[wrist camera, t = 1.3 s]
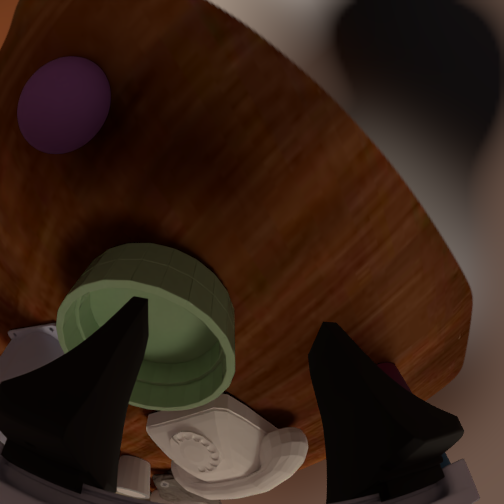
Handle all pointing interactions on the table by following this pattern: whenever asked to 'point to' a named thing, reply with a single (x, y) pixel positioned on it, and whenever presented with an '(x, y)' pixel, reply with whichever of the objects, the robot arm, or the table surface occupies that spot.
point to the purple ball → (64, 105)
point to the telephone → (226, 449)
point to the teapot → (157, 498)
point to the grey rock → (176, 490)
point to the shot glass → (133, 477)
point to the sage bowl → (159, 322)
